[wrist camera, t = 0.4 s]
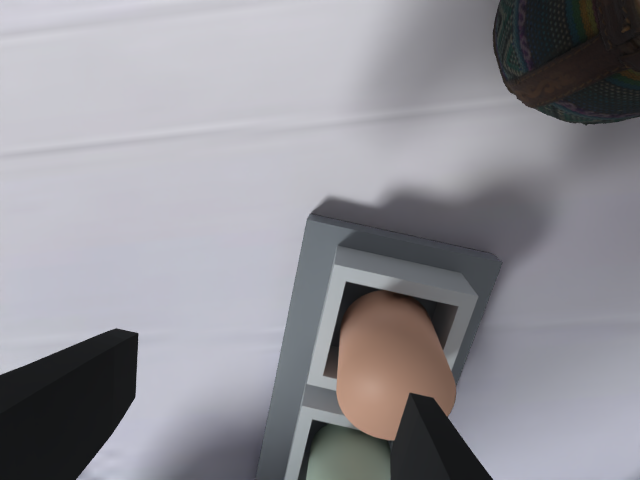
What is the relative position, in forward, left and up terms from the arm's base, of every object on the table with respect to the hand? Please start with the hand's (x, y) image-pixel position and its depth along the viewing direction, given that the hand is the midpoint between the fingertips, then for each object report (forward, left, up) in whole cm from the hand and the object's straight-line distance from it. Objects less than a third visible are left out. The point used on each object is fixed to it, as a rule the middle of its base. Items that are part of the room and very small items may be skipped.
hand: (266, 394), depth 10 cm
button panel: (-8, -4, -10) cm, 13 cm away
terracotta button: (-1, -4, -7) cm, 8 cm away
